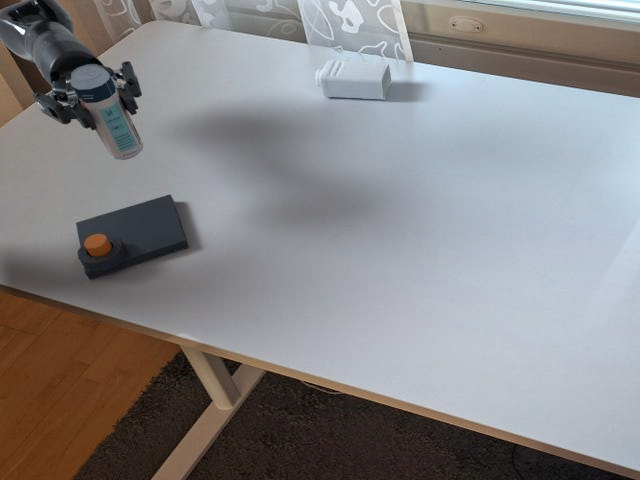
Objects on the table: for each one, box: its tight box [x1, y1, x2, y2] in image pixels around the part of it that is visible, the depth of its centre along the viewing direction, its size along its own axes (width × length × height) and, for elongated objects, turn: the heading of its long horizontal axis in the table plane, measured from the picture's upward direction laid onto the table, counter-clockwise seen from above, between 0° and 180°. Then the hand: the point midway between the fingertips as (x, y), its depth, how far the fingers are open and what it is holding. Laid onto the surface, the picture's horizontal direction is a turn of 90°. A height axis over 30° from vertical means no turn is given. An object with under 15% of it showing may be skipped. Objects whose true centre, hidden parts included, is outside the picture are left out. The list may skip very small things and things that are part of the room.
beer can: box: [71, 64, 144, 161], centre depth 92 cm, size 5×5×12 cm
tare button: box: [84, 234, 112, 257], centre depth 94 cm, size 3×3×2 cm
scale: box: [75, 194, 190, 280], centre depth 99 cm, size 14×13×3 cm
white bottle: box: [314, 59, 392, 101], centre depth 122 cm, size 6×13×4 cm, turn 82°
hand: (111, 115), depth 90 cm, fingers closed on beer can, 4 cm apart
